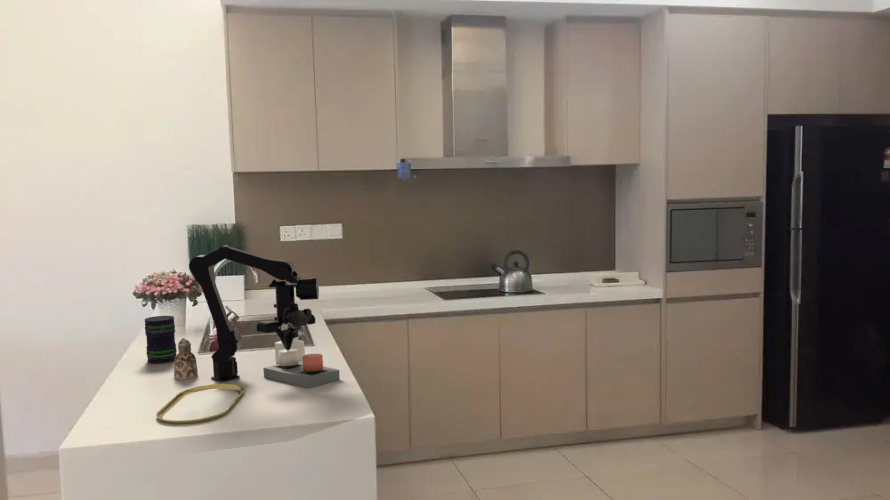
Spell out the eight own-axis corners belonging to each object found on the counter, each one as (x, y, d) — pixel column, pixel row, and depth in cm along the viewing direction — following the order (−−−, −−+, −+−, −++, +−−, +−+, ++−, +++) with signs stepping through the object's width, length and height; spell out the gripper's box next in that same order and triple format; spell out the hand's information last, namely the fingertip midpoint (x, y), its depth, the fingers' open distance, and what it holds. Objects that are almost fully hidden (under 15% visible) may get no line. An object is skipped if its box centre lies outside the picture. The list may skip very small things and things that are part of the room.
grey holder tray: (308, 388, 228) (307, 378, 228) (264, 377, 243) (263, 367, 243) (339, 379, 237) (339, 369, 237) (295, 369, 252) (294, 360, 252)
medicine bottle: (291, 359, 266) (290, 324, 265) (305, 361, 262) (303, 326, 261) (275, 363, 261) (273, 328, 260) (289, 366, 256) (287, 330, 255)
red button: (311, 372, 231) (310, 359, 231) (298, 369, 235) (298, 356, 235) (327, 368, 236) (326, 355, 236) (314, 365, 240) (314, 352, 240)
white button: (286, 366, 239) (286, 354, 239) (275, 364, 243) (274, 351, 243) (302, 363, 244) (301, 350, 244) (290, 360, 248) (290, 348, 248)
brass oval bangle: (146, 428, 197) (145, 422, 197) (187, 390, 232) (187, 385, 232) (220, 425, 198) (220, 418, 198) (250, 387, 233) (250, 382, 232)
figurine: (173, 380, 243) (170, 342, 242) (175, 375, 250) (172, 338, 248) (197, 378, 245) (195, 340, 244) (198, 372, 252) (195, 336, 250)
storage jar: (167, 364, 265) (164, 320, 264) (141, 363, 267) (138, 320, 266) (182, 357, 275) (179, 315, 273) (157, 357, 277) (154, 315, 275)
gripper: (276, 307, 230) (279, 359, 231) (325, 298, 243) (327, 347, 245) (254, 304, 237) (257, 354, 238) (303, 295, 251) (305, 343, 252)
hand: (287, 350), depth 243 cm, fingers closed
